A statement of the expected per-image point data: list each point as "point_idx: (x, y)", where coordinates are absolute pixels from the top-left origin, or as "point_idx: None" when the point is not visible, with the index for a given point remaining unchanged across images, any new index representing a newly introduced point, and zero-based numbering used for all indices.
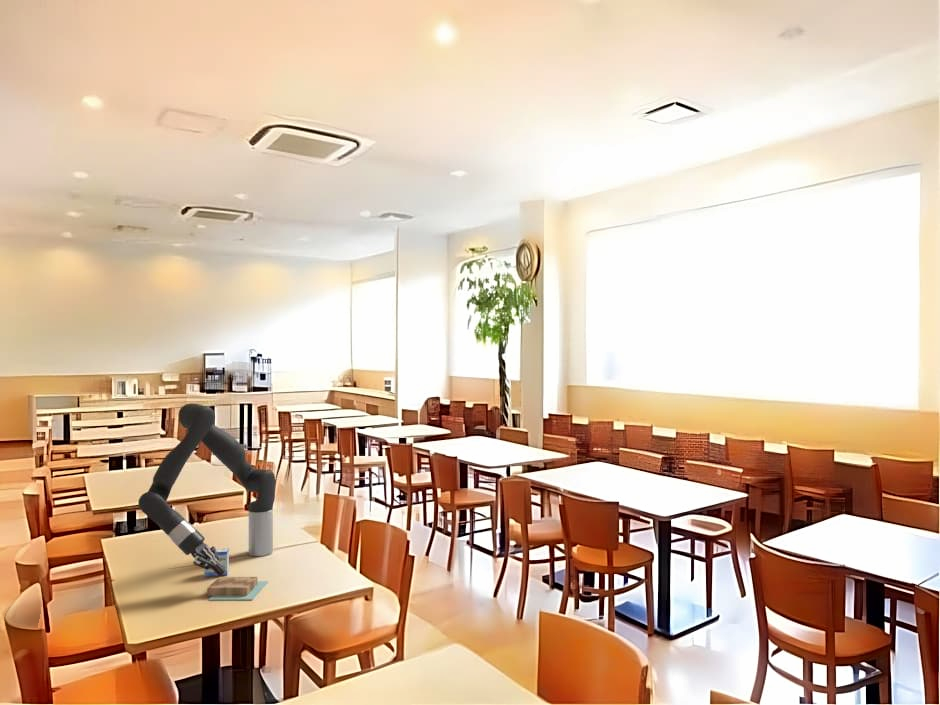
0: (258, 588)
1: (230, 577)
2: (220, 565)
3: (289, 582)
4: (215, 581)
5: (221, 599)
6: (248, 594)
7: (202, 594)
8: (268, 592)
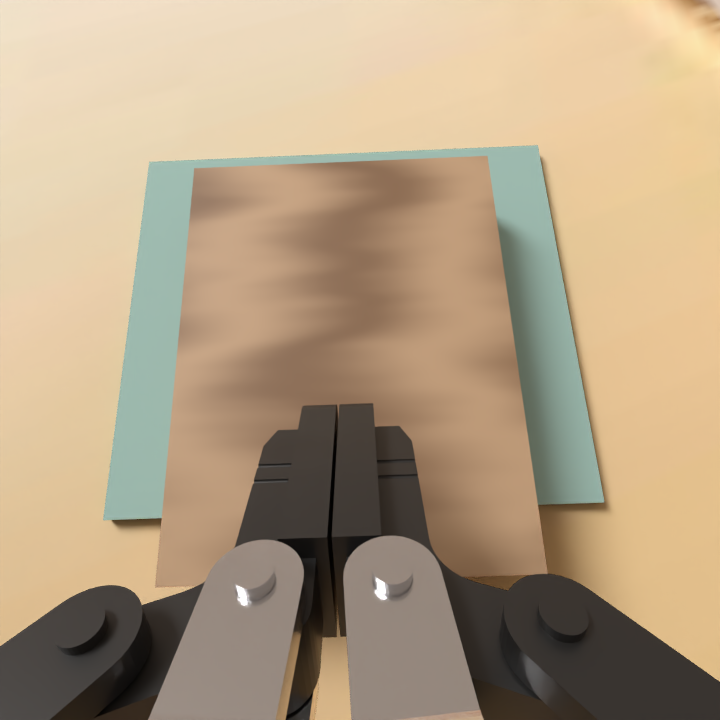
0: None
1: (193, 428)
2: (299, 483)
3: (172, 37)
4: None
5: (579, 378)
6: None
7: None
8: (368, 102)
